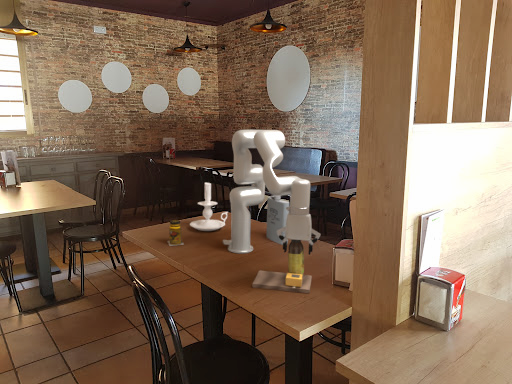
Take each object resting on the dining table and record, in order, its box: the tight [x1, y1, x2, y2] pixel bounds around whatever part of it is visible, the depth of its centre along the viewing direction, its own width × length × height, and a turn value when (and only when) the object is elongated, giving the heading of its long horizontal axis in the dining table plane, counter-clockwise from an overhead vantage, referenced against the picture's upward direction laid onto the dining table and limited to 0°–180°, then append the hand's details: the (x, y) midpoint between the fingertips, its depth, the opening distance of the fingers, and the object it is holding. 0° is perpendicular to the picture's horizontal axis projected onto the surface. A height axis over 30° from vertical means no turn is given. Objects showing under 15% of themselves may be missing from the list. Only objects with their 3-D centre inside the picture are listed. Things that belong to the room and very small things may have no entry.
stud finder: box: [286, 272, 304, 287], centre depth 151 cm, size 6×5×3 cm
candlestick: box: [189, 182, 229, 232], centre depth 228 cm, size 21×25×28 cm
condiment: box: [166, 219, 184, 247], centre depth 201 cm, size 7×8×12 cm
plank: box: [251, 270, 313, 294], centre depth 156 cm, size 22×14×2 cm, turn 79°
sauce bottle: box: [287, 239, 305, 278], centre depth 156 cm, size 6×6×20 cm
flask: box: [265, 195, 290, 246], centre depth 209 cm, size 17×5×25 cm, turn 30°
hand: (297, 252), depth 156 cm, fingers open, 9 cm apart
